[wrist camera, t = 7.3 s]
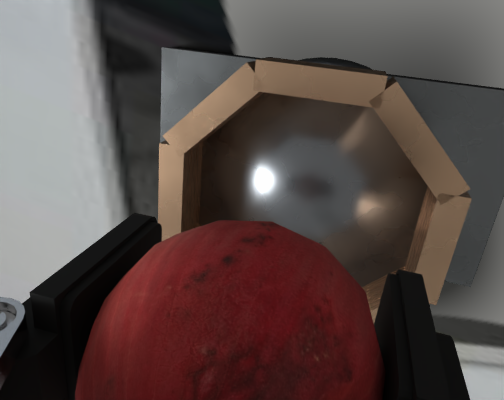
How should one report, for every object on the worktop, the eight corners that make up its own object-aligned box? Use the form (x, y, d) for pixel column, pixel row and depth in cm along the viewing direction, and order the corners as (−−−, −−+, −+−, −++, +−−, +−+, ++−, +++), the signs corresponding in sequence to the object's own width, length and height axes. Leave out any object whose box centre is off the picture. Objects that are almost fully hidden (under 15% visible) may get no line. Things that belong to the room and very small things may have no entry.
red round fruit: (276, 128, 10) (65, 339, 3) (425, 289, 11) (539, 788, 4) (143, 252, 13) (-146, 532, 6) (270, 379, 13) (156, 782, 6)
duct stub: (535, 80, 19) (646, 108, 11) (463, 282, 23) (508, 401, 16) (171, 37, 22) (71, 35, 15) (167, 218, 27) (88, 289, 19)
